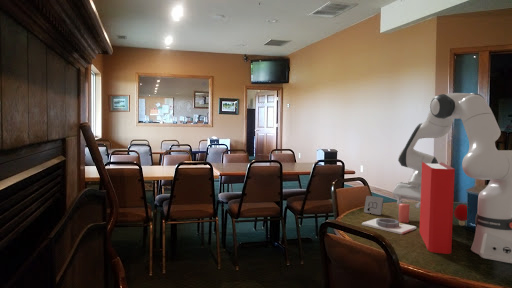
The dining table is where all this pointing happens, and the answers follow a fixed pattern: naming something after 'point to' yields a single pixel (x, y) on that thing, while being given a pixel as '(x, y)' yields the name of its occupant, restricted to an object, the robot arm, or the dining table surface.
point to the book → (437, 207)
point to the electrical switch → (373, 205)
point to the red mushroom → (461, 213)
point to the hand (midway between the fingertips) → (407, 205)
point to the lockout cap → (404, 213)
